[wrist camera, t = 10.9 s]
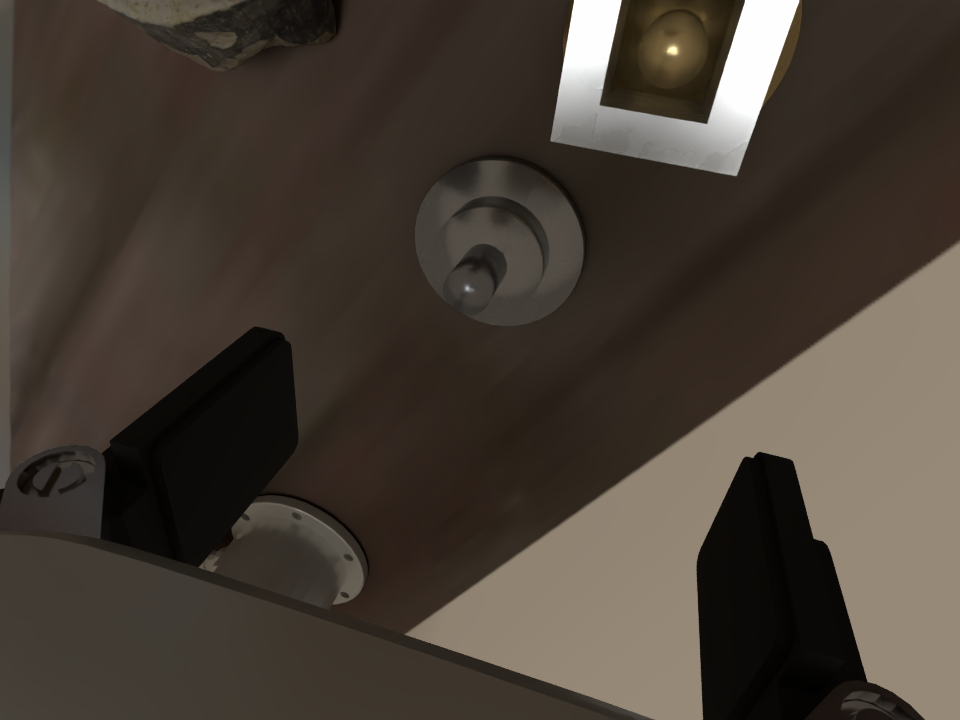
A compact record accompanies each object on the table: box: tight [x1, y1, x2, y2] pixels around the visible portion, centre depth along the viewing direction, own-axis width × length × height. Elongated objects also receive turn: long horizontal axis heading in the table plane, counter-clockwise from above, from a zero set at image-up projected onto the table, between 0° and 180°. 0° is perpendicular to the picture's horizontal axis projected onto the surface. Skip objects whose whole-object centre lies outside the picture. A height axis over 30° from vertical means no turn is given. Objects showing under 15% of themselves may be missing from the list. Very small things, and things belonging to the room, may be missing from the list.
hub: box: [563, 0, 802, 108], centre depth 22 cm, size 9×9×6 cm
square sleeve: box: [550, 0, 799, 176], centre depth 21 cm, size 6×6×4 cm
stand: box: [415, 156, 586, 326], centre depth 29 cm, size 9×9×6 cm
